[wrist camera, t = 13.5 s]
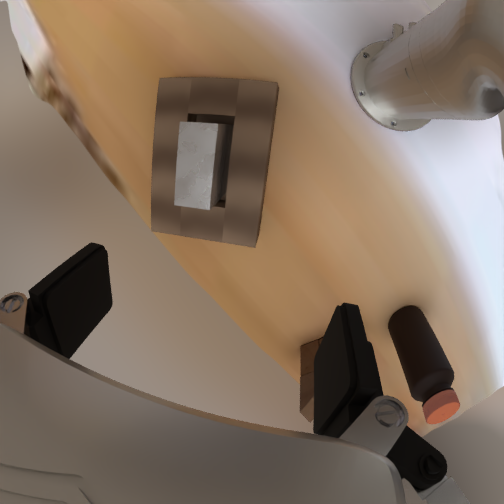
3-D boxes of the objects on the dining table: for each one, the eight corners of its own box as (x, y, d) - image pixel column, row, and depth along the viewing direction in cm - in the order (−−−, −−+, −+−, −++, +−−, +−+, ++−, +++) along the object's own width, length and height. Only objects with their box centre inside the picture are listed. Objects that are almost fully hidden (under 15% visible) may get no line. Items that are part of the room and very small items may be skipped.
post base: (173, 82, 32) (159, 78, 28) (278, 88, 31) (277, 82, 27) (164, 220, 40) (151, 231, 36) (258, 234, 40) (255, 247, 36)
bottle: (380, 325, 43) (410, 423, 25) (408, 298, 41) (454, 391, 23) (402, 341, 44) (433, 431, 26) (429, 316, 42) (473, 403, 24)
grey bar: (202, 122, 33) (180, 121, 26) (233, 124, 33) (218, 124, 26) (196, 189, 37) (174, 205, 30) (225, 193, 37) (209, 210, 29)
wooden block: (299, 345, 47) (298, 434, 31) (357, 321, 44) (378, 410, 27) (308, 358, 48) (309, 444, 32) (364, 335, 45) (384, 422, 28)
